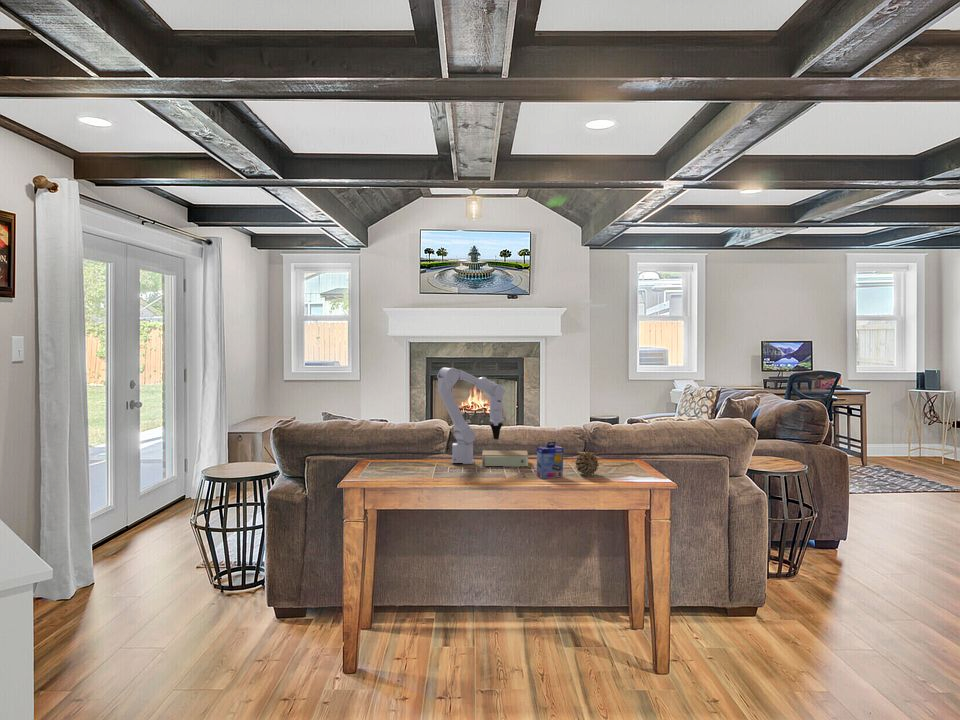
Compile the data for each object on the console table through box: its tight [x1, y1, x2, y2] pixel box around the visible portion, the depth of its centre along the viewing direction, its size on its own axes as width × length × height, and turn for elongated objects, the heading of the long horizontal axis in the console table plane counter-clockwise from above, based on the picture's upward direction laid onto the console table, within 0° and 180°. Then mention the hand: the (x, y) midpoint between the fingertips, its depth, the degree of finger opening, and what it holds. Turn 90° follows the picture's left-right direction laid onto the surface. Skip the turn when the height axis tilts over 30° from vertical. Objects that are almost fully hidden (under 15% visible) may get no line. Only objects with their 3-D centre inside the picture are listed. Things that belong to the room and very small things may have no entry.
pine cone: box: [574, 451, 600, 476], centre depth 274 cm, size 22×10×10 cm, turn 2°
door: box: [482, 456, 526, 467], centre depth 288 cm, size 18×2×4 cm, turn 88°
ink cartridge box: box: [536, 441, 564, 480], centre depth 267 cm, size 10×6×14 cm, turn 113°
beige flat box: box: [481, 449, 529, 468], centre depth 295 cm, size 20×12×5 cm, turn 88°
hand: (496, 439), depth 306 cm, fingers closed
